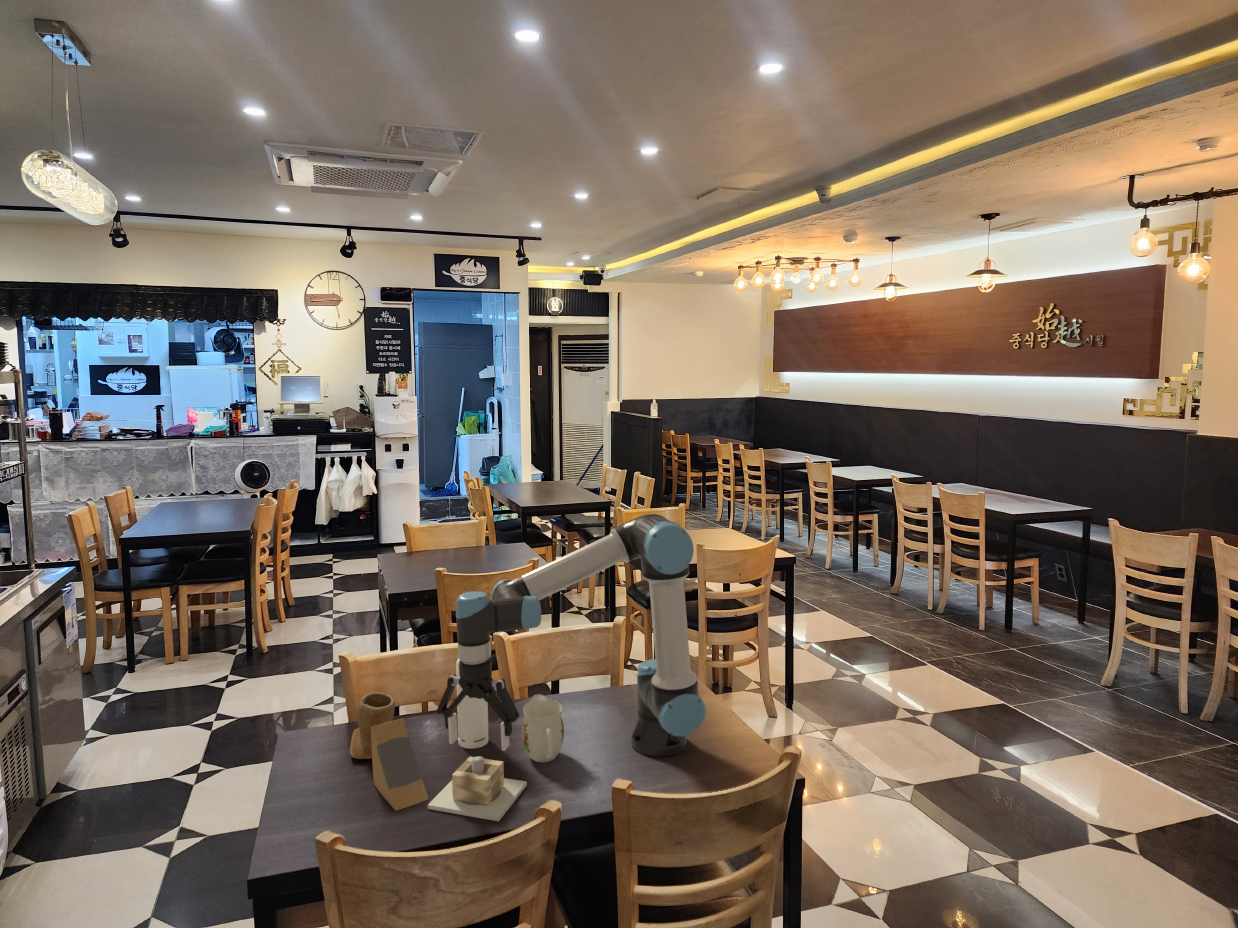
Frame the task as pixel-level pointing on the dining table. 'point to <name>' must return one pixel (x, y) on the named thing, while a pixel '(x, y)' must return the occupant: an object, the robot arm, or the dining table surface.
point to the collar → (478, 782)
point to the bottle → (471, 719)
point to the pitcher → (542, 728)
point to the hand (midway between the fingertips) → (479, 744)
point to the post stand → (490, 811)
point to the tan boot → (370, 722)
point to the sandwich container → (396, 765)
